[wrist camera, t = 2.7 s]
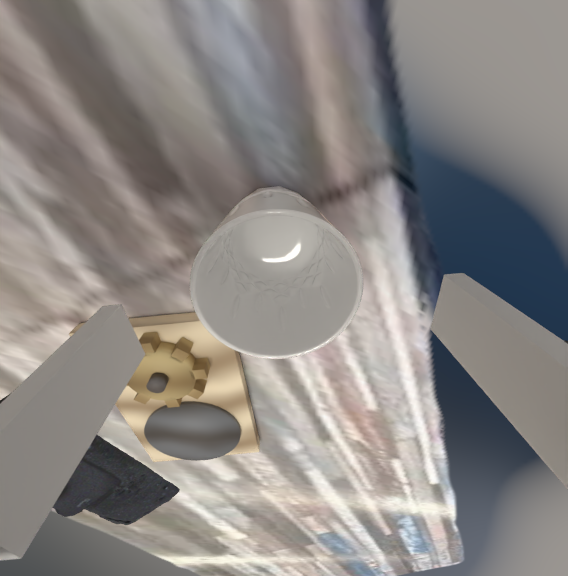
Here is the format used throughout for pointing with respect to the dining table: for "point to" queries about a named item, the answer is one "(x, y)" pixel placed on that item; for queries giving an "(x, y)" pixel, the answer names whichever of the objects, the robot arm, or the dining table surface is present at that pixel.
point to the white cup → (276, 277)
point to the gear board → (214, 389)
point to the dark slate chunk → (113, 486)
